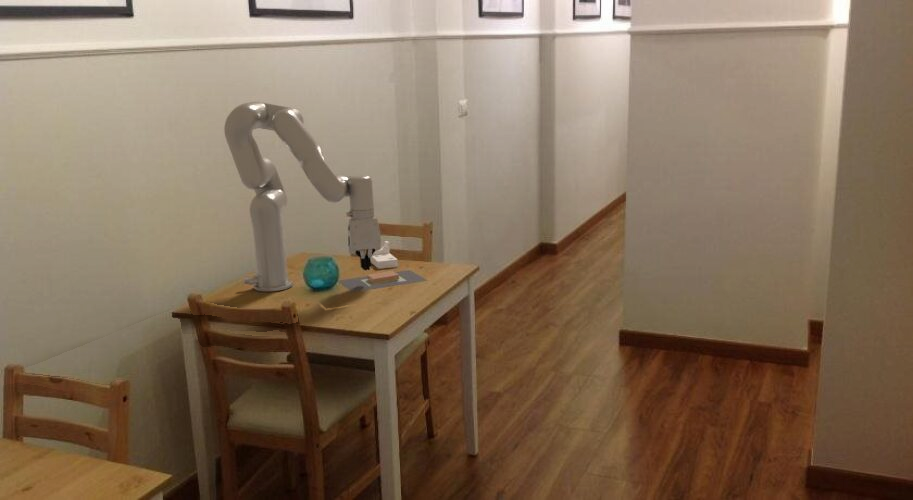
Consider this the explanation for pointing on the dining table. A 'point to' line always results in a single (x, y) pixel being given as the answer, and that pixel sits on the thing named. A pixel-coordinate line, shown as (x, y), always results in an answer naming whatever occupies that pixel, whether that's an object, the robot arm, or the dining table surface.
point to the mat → (365, 284)
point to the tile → (383, 277)
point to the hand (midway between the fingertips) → (366, 269)
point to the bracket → (384, 258)
